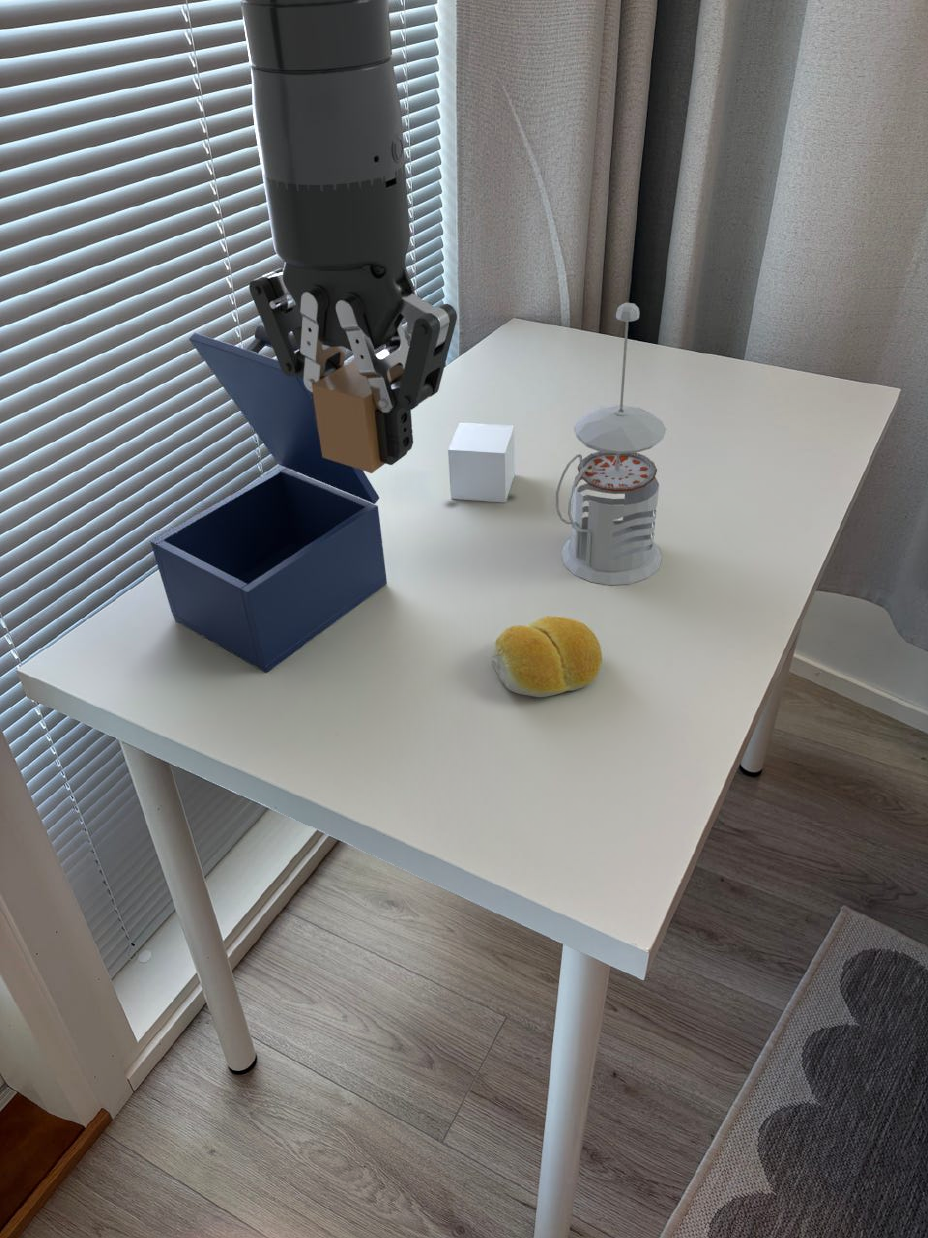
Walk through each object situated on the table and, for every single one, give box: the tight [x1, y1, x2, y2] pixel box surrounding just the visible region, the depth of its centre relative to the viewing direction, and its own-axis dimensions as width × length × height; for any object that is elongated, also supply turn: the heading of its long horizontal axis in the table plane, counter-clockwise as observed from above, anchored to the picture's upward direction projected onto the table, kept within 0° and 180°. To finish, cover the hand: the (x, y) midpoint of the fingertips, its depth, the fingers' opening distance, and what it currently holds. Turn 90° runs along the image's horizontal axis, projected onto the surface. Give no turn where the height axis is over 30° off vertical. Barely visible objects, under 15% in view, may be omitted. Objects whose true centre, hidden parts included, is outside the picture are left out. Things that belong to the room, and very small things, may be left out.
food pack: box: [312, 360, 393, 474], centre depth 59 cm, size 4×4×5 cm
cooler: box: [150, 465, 388, 674], centre depth 87 cm, size 16×13×9 cm
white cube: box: [447, 422, 516, 504], centre depth 102 cm, size 6×6×6 cm
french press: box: [555, 302, 667, 586], centre depth 85 cm, size 10×12×25 cm
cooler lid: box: [188, 322, 380, 505], centre depth 82 cm, size 16×13×5 cm
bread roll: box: [491, 615, 603, 698], centre depth 79 cm, size 8×9×4 cm
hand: (365, 448), depth 60 cm, fingers closed on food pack, 4 cm apart
